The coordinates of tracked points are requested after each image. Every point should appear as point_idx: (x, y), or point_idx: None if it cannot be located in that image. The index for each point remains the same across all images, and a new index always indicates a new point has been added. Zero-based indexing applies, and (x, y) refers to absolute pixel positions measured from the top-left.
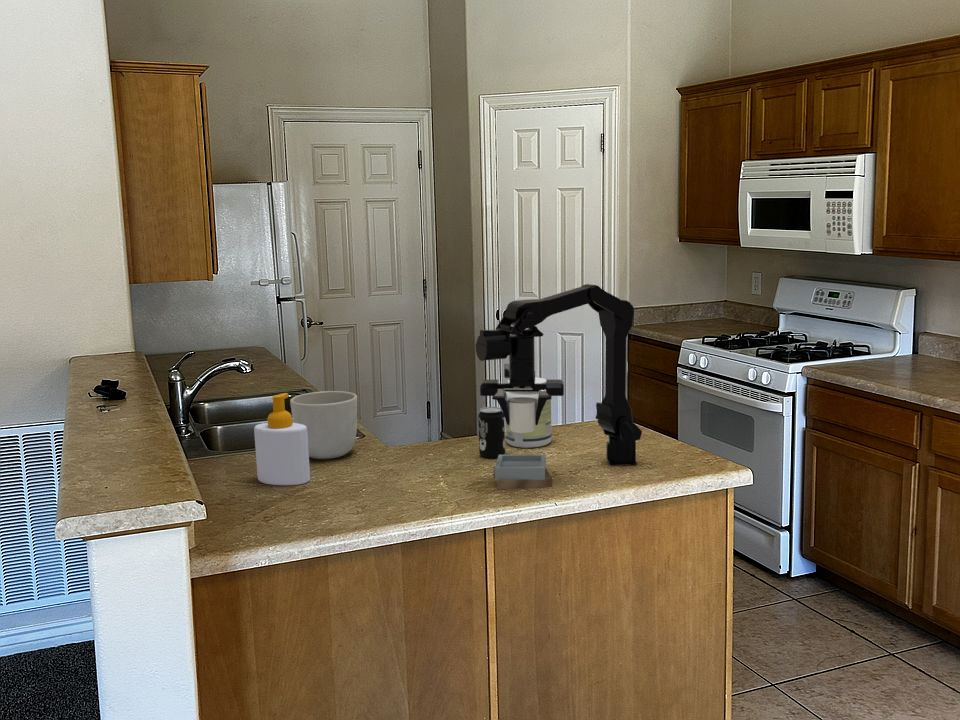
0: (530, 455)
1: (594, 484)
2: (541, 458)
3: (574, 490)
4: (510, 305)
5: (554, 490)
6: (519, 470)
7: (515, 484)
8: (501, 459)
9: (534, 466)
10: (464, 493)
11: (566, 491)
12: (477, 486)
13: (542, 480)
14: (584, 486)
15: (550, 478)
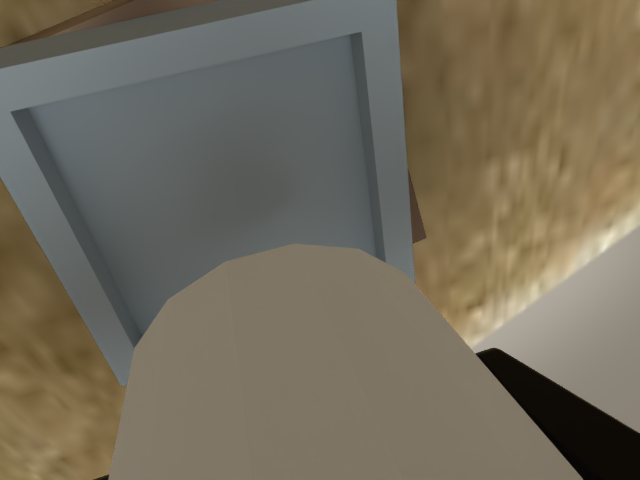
0: (267, 49)
1: (611, 126)
2: (375, 119)
3: (511, 233)
4: None
5: (425, 258)
6: None
7: None
8: (63, 218)
9: (325, 182)
10: (19, 411)
11: (477, 254)
12: (19, 317)
13: None
14: (561, 168)
15: (419, 234)
